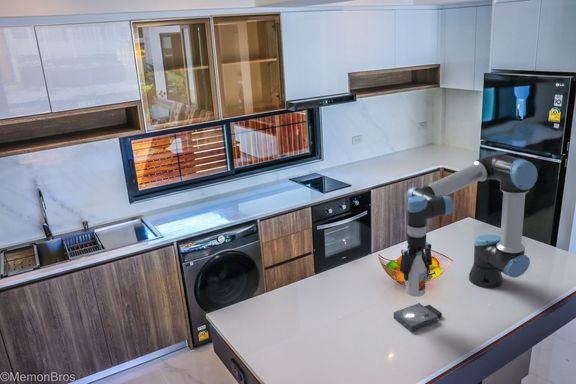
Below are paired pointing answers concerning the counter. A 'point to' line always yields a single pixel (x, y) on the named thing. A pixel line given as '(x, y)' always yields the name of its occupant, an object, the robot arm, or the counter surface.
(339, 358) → the counter surface
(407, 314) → the dark grey flat block
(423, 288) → the milk bottle
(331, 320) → the counter surface
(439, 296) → the counter surface
